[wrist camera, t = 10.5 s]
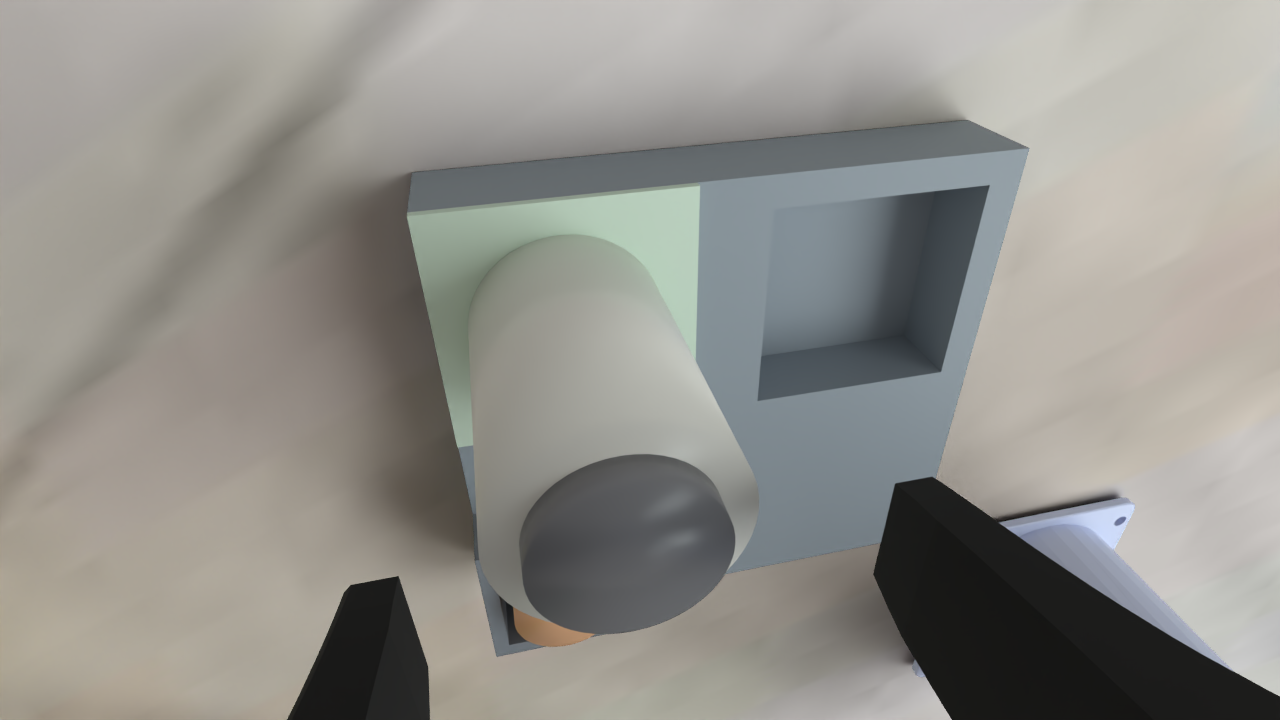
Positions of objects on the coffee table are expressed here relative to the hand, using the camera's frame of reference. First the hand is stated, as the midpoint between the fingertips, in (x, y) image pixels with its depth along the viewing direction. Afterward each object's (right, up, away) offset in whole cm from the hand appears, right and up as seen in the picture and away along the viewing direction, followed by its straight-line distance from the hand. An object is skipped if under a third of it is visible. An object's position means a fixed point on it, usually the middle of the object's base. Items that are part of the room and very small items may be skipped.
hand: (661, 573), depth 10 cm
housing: (+2, +3, +11) cm, 11 cm away
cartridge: (-2, +4, +6) cm, 7 cm away
